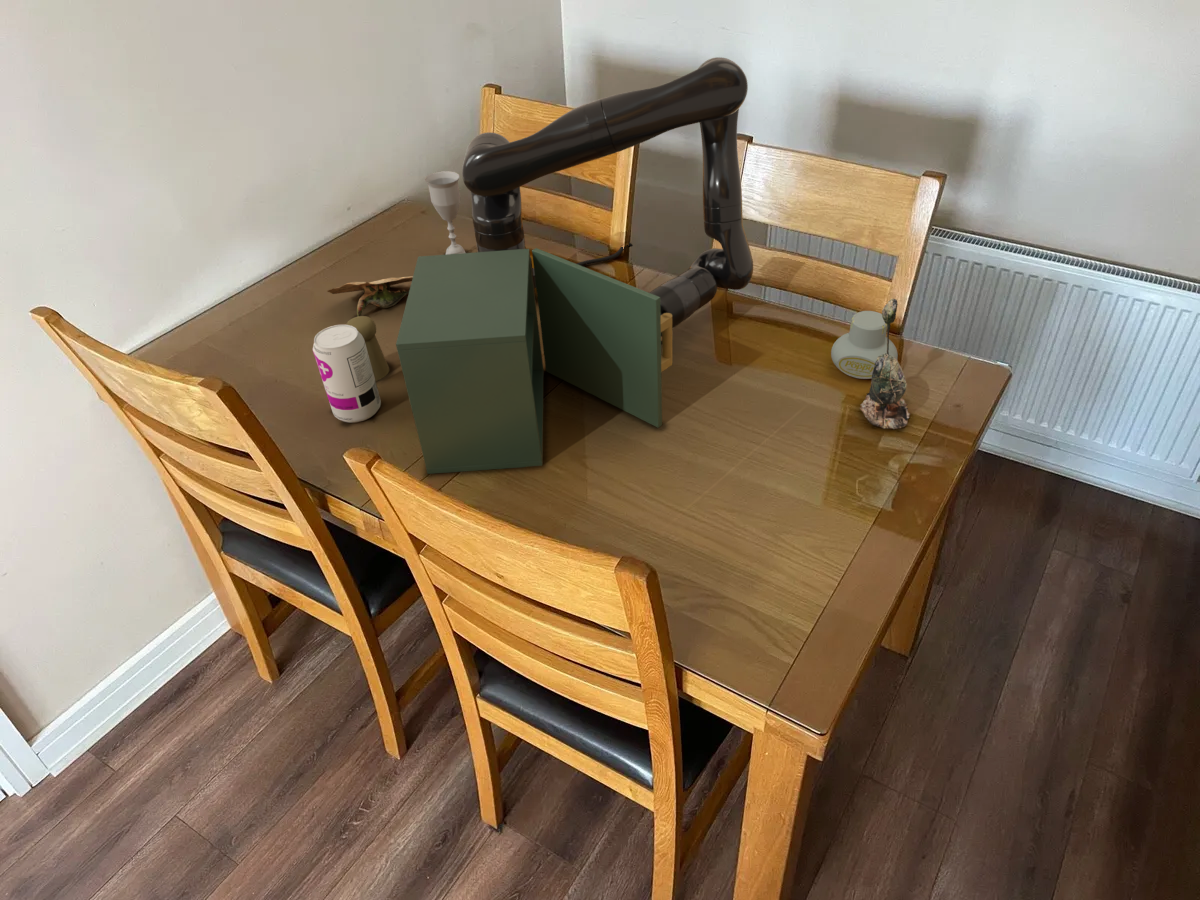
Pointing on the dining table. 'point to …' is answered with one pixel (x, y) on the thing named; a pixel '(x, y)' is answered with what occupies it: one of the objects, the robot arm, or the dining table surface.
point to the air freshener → (862, 345)
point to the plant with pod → (887, 385)
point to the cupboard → (474, 361)
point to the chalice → (446, 202)
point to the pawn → (371, 345)
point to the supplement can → (346, 373)
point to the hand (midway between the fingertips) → (602, 348)
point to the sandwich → (375, 292)
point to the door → (603, 335)
